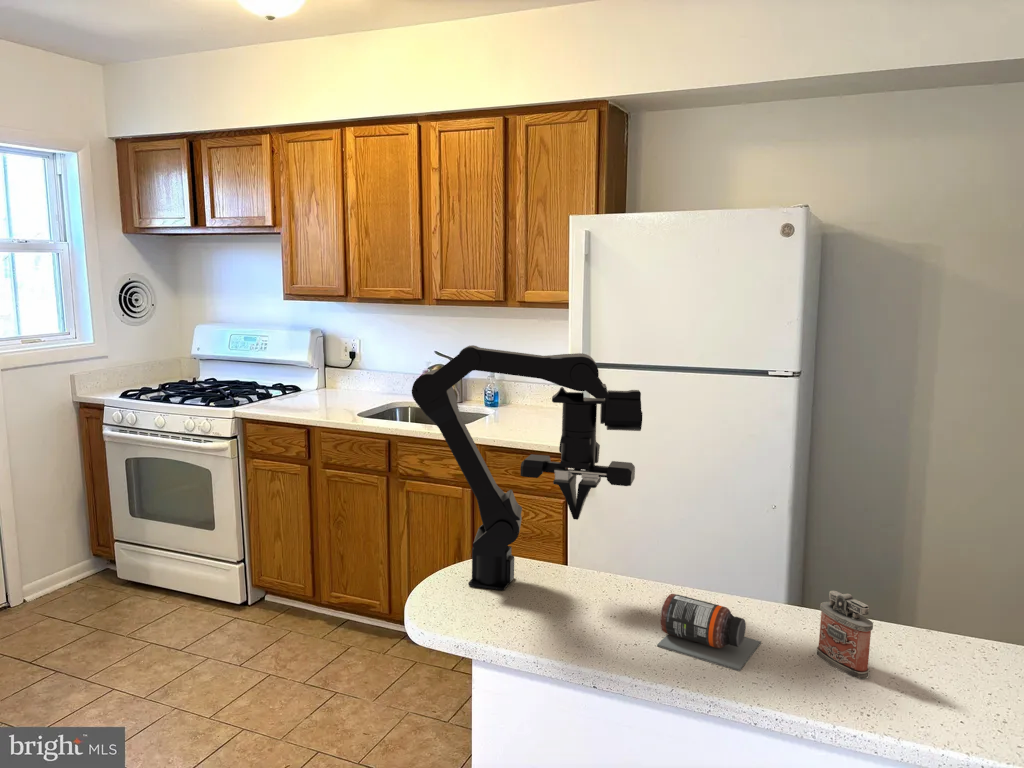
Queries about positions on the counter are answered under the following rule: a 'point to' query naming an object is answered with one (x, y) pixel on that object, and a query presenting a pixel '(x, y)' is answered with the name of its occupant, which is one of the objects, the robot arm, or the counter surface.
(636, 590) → the counter surface
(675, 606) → the supplement bottle
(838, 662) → the lighter
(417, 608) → the counter surface
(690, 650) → the mat
